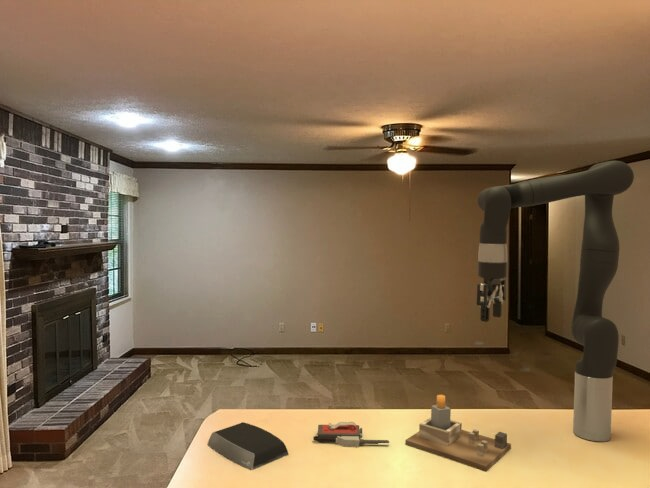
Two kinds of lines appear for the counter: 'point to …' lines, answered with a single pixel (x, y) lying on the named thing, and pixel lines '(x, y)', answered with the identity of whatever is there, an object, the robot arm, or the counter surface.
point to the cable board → (460, 444)
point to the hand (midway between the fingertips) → (491, 319)
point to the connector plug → (440, 414)
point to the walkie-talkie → (343, 435)
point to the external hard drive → (248, 445)
